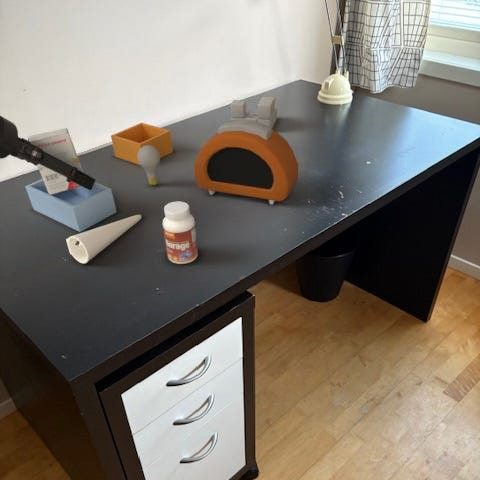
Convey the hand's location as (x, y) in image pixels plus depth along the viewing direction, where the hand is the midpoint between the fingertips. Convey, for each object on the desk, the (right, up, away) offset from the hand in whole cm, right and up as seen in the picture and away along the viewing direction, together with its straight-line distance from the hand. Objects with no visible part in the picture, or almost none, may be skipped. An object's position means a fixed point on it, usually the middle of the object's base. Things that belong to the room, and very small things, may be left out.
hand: (78, 179), depth 109 cm
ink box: (-2, -2, -1) cm, 3 cm away
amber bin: (+10, +15, +26) cm, 31 cm away
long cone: (+11, -16, -8) cm, 20 cm away
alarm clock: (+39, -1, +7) cm, 39 cm away
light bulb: (+15, +2, +11) cm, 19 cm away
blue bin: (-2, -7, +3) cm, 7 cm away
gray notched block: (+42, +28, +39) cm, 64 cm away
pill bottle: (+26, -20, -13) cm, 35 cm away
